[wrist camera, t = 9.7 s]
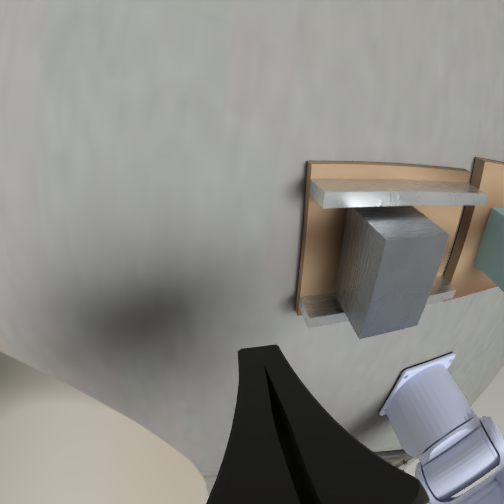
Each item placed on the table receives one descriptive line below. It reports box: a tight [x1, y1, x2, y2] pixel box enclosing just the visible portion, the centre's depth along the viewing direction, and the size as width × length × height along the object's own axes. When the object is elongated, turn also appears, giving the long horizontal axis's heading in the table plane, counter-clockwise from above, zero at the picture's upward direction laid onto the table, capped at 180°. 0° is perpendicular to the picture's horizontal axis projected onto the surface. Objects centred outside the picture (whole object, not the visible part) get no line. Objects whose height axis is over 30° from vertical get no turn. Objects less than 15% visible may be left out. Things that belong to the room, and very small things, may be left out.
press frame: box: [295, 157, 504, 328], centre depth 18 cm, size 12×22×3 cm, turn 90°
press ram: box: [334, 206, 449, 339], centre depth 16 cm, size 6×5×4 cm
